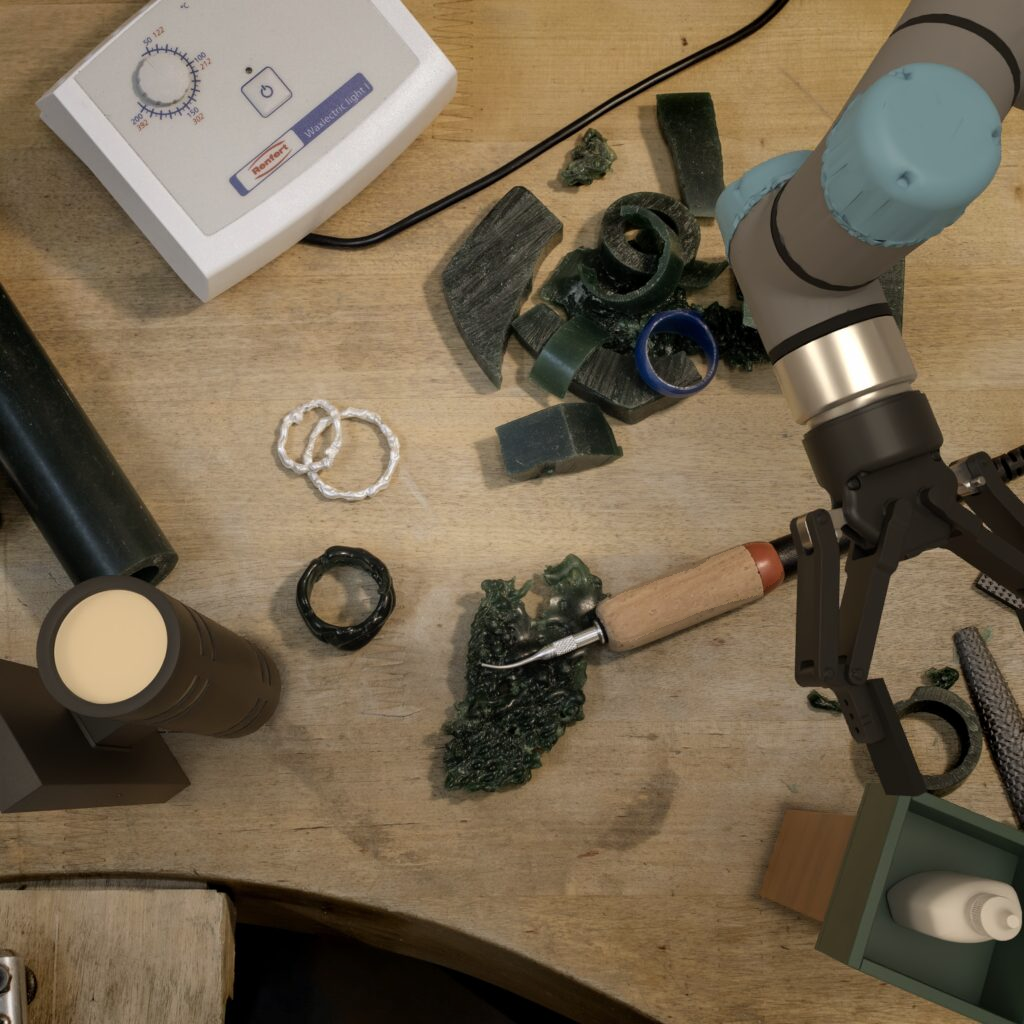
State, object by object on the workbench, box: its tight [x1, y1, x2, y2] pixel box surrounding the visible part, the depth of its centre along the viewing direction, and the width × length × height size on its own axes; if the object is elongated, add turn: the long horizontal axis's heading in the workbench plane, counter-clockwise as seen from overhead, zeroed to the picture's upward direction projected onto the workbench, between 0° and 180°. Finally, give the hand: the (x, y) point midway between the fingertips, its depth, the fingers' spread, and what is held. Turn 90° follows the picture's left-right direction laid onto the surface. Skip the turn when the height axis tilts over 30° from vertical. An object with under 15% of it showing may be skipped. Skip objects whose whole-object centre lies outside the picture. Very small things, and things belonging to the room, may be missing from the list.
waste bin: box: [814, 782, 1024, 1024], centre depth 68 cm, size 12×12×7 cm
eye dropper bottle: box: [887, 871, 1022, 943], centre depth 64 cm, size 4×6×12 cm
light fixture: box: [0, 574, 282, 815], centre depth 82 cm, size 10×15×33 cm
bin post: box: [758, 808, 856, 923], centre depth 83 cm, size 8×8×25 cm
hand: (996, 749), depth 61 cm, fingers open, 13 cm apart
